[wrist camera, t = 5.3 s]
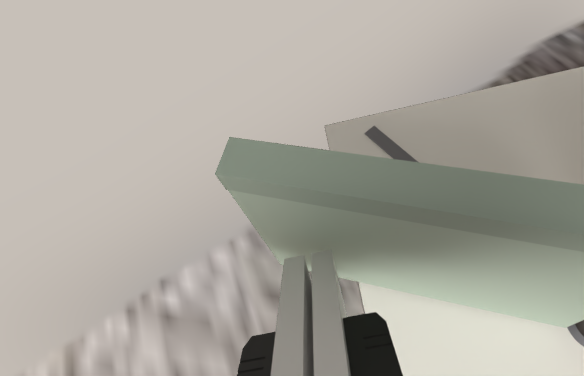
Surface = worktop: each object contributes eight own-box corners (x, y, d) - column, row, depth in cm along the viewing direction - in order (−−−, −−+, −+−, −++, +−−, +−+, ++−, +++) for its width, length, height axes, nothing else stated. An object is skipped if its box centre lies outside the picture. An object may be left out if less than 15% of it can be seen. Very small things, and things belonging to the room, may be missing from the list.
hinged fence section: (565, 296, 17) (718, 202, 9) (565, 329, 17) (727, 257, 9) (288, 240, 21) (229, 136, 13) (280, 265, 20) (215, 173, 12)
